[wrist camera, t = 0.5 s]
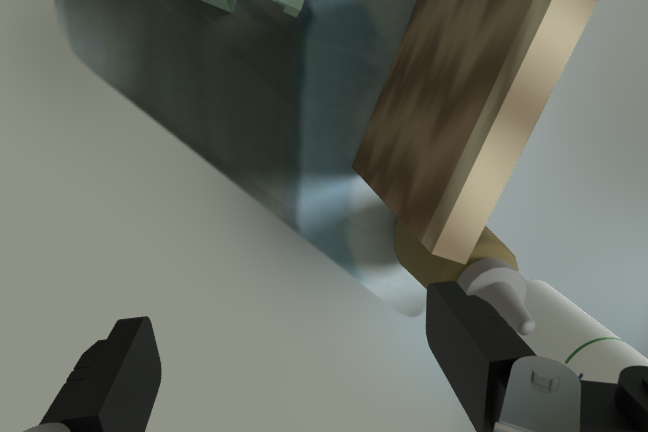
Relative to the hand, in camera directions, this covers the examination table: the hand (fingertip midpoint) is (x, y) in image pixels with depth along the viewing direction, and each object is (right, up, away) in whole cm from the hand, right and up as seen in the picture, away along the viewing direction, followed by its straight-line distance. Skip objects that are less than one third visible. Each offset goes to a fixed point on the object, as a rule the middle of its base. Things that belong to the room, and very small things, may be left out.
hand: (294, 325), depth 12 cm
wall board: (+10, +14, +26) cm, 31 cm away
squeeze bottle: (+11, +2, +31) cm, 33 cm away
